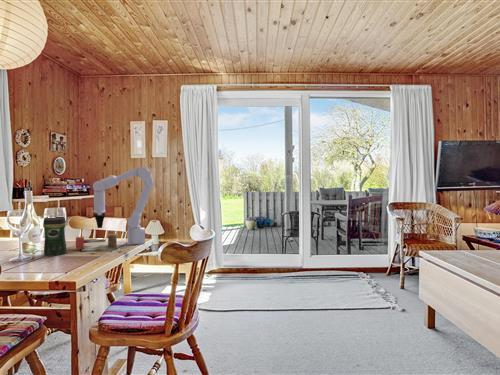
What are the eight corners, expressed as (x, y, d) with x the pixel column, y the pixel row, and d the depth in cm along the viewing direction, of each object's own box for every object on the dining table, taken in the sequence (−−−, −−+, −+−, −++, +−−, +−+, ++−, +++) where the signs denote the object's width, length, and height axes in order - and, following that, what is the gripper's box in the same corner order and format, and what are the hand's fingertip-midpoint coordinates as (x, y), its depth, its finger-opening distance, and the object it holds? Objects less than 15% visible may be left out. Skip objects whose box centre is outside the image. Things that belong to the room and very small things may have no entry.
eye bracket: (116, 245, 189) (116, 232, 188) (117, 249, 178) (117, 235, 177) (82, 247, 182) (82, 234, 182) (81, 252, 171) (81, 238, 171)
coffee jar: (67, 251, 171) (67, 215, 171) (64, 255, 164) (64, 216, 164) (45, 253, 168) (45, 215, 168) (41, 256, 161) (41, 217, 160)
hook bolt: (105, 245, 182) (105, 235, 182) (105, 246, 179) (105, 236, 179) (76, 247, 177) (76, 237, 177) (75, 249, 173) (75, 238, 173)
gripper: (91, 202, 195) (92, 225, 195) (91, 203, 182) (91, 229, 182) (105, 201, 198) (105, 225, 198) (105, 203, 185) (105, 228, 185)
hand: (99, 227), depth 190 cm, fingers open, 7 cm apart
